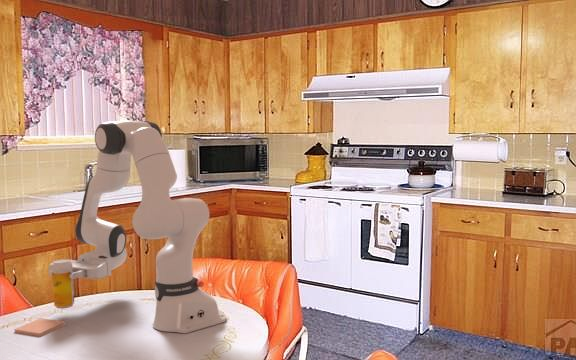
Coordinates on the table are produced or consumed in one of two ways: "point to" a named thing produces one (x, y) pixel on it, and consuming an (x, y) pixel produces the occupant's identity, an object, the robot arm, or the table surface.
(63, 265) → the beer can
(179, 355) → the table surface
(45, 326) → the tile
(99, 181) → the robot arm
